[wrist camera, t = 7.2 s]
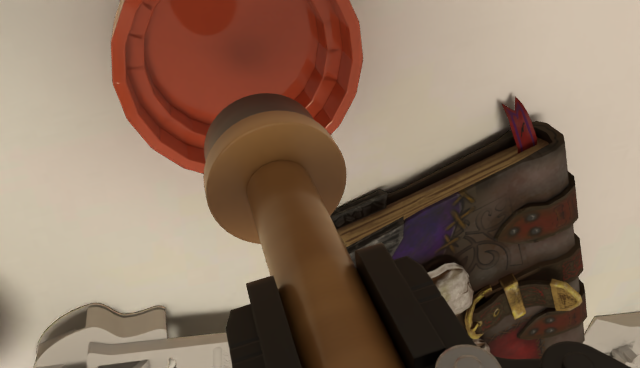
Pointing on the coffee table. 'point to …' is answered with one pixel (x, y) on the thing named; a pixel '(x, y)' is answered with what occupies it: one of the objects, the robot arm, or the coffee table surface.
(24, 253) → the coffee table surface
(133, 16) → the bowl
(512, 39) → the coffee table surface
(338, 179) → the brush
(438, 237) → the book
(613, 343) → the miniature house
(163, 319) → the zipper pull
